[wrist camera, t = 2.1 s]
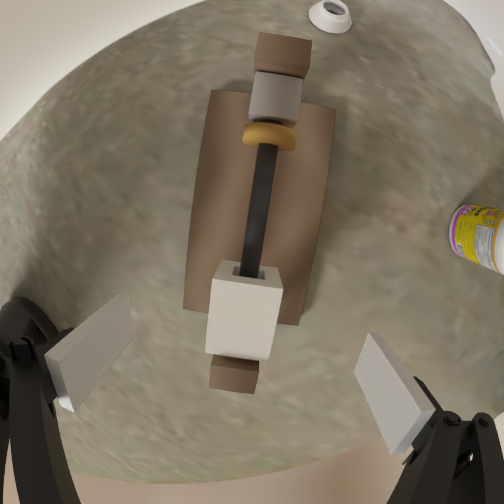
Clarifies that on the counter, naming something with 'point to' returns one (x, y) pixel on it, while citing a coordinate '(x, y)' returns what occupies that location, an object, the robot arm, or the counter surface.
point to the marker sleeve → (243, 312)
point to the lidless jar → (331, 16)
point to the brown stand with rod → (260, 189)
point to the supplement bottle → (479, 235)
